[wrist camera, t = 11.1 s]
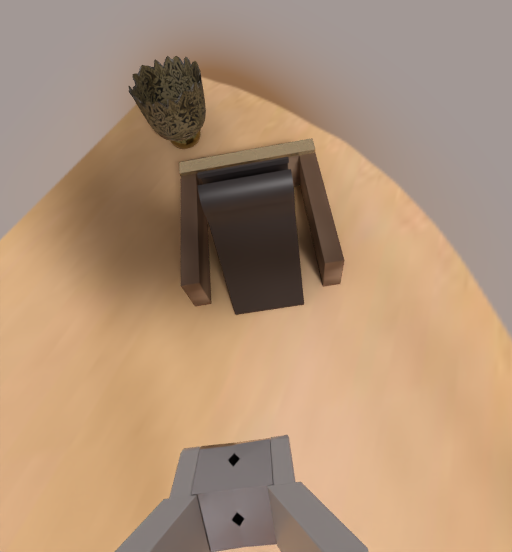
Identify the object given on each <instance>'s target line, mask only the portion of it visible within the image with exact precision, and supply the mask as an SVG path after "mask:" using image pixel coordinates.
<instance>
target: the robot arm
mask: <svg viewBox="0 0 512 552" xmlns="http://www.w3.org/2000/svg"><path fill="white" fill-rule="evenodd" d="M273 544H277V546H278V548H279V549H280V551H281V552H368V549H367V547H366V546H365V545H364V544H363V543H362V542H361V541H360V540H359V539H358V538H357V537H356V536H355V535H354V534H353V533H352V532H351V531H350V530H349V529H348V528H347V527H346V526H345V525H344V524H343V523H342V522H341V521H340V520H339V519H338V518H337V517H336V516H335V515H334V514H333V513H332V512H331V511H330V510H329V509H328V508H327V507H326V506H325V505H324V504H323V503H322V502H321V501H320V500H319V499H318V498H317V497H316V496H315V495H314V494H313V493H312V492H311V491H310V490H309V489H308V488H307V487H306V486H305V485H304V484H303V483H302V482H295V476H294V469H293V462H292V455H291V448H290V442H289V437H288V435H284V436H277V437H271V439H270V438H266V439H259V440H252V441H244V442H237V443H228V444H218V445H209V446H201V447H193V448H184V449H183V450H182V452H181V454H180V458H179V462H178V466H177V470H176V474H175V478H174V482H173V485H172V489H171V493H170V497H169V499H163V501H162V502H161V503H160V504H159V505H158V506H157V507H156V508H155V509H154V510H153V511H152V512H151V513H150V514H149V516H148V517H147V518H146V519H145V520H144V521H143V522H142V523H141V524H140V525H139V526H138V527H137V528H136V529H135V531H134V532H133V533H132V534H131V535H130V536H129V537H128V538H127V539H126V540H125V541H124V542H123V543H122V544H121V546H120V547H119V548H118V549H117V550H116V551H115V552H216V551H222V550H228V549H235V548H241V547H251V546H262V545H273Z"/></svg>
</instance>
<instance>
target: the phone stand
mask: <svg viewBox="0 0 512 552" xmlns="http://www.w3.org/2000/svg"><path fill="white" fill-rule="evenodd" d="M288 163H289V158H288V156H287V157H282V158H276V159H271V160H265V161H259V162H254V163H248V164H242V165H237V166H231V167H225V168H220V169H214V170H208V171H203V172H198V173H197V176H198V179H200V178H201V180H202V182H203V184H202V185H197V187H198V193H199V198H200V202H201V206H202V209H203V212H204V214H205V216H206V218H207V221H208V223H209V226H210V229H211V232H212V236H213V239H214V243H215V246H216V250H217V253H218V257H219V260H220V263H221V267H222V270H223V274H224V277H225V281H226V284H227V287H228V291H229V294H230V298H231V301H232V305H233V308H234V311H235V315H238V314H244V313H251V312H258V311H264V310H271V309H277V308H284V307H291V306H297V305H304V298H303V288H302V278H301V268H300V258H299V247H298V237H297V227H296V217H295V203H294V187H293V179H292V173H291V169H288Z"/></svg>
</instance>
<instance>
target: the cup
mask: <svg viewBox="0 0 512 552" xmlns="http://www.w3.org/2000/svg"><path fill="white" fill-rule="evenodd" d="M133 80H134V81H135V86H134V87H133V90H132V89H131V87H130V86H129V93H130V94H131V95H132V97H133V98H134V100H135V102H136V103H137V105H138V107H139V108H140V110H141V112H142V113H143V115H144V116H145V118H146V120H147V121H148V123H149V124H150V125H151V127H152V128H153V129H154V130H155V132H156V133H158V134H159V135H160V136H161V137H163V138H165V139H168V140H170V141H171V143H172V144H173V145H174V146H176V147H177V148H180V149H187V148H190V147H193V146H194V145H196V144H197V143H198V141H199V139H200V129H201V128H202V126H203V123H204V121H205V113H206V110H205V99H204V93H203V86H202V80H201V73H200V69H199V67H198V64H197V62H196V61H194V62H193V63H192V64H190V61H189V59H188V58H187V57H185V58H184V64H183V62H182V61H181V59H180V58H179V57H177V56H175V57H174V58H173V59H170V58H169V57H168V56H167V57H166V59H165V62H164V67H163V66H162V65H161V64H160V63H159V62H158V61H157V60H155V61H154V67H150V66H144V65H142V66H141V67H140V71H139V73H138V74H133Z"/></svg>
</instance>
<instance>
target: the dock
mask: <svg viewBox="0 0 512 552" xmlns="http://www.w3.org/2000/svg"><path fill="white" fill-rule="evenodd" d="M287 156H288V158H289V163H288V169H291V173H292V179H293V186H298V185H300V186H301V191H302V195H303V200H304V204H305V208H306V213H307V217H308V222H309V226H310V231H311V235H312V239H313V244H314V248H315V253H316V257H317V262H318V266H319V270H320V275H321V279H322V284H323V286H329V285H336V284H340V282H341V277H342V271H343V265H344V257H343V254H342V250H341V246H340V242H339V239H338V235H337V231H336V228H335V224H334V220H333V217H332V213H331V209H330V205H329V202H328V198H327V194H326V191H325V187H324V183H323V180H322V176H321V172H320V168H319V165H318V161H317V157H316V154H315V146H314V143H313V139H312V138H311V139H306V140H300V141H295V142H289V143H284V144H278V145H273V146H267V147H262V148H256V149H250V150H245V151H239V152H234V153H228V154H223V155H217V156H212V157H206V158H200V159H195V160H189V161H184V162H179V174H180V176H181V287H182V288H183V290H184V291H185V292H186V294H187V295H188V297H189V298H190V300H191V301H192V303H193V304H194V305H195V306H199V305H206V304H211V285H210V265H209V244H208V224H207V218H206V216H205V214H204V212H203V209H202V206H201V202H200V198H199V193H198V187H197V185H202V184H203V182H202V180H201V178H200V179H198V176H197V173H198V172H203V171H208V170H214V169H220V168H225V167H231V166H237V165H242V164H248V163H254V162H259V161H265V160H271V159H276V158H282V157H287Z"/></svg>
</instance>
